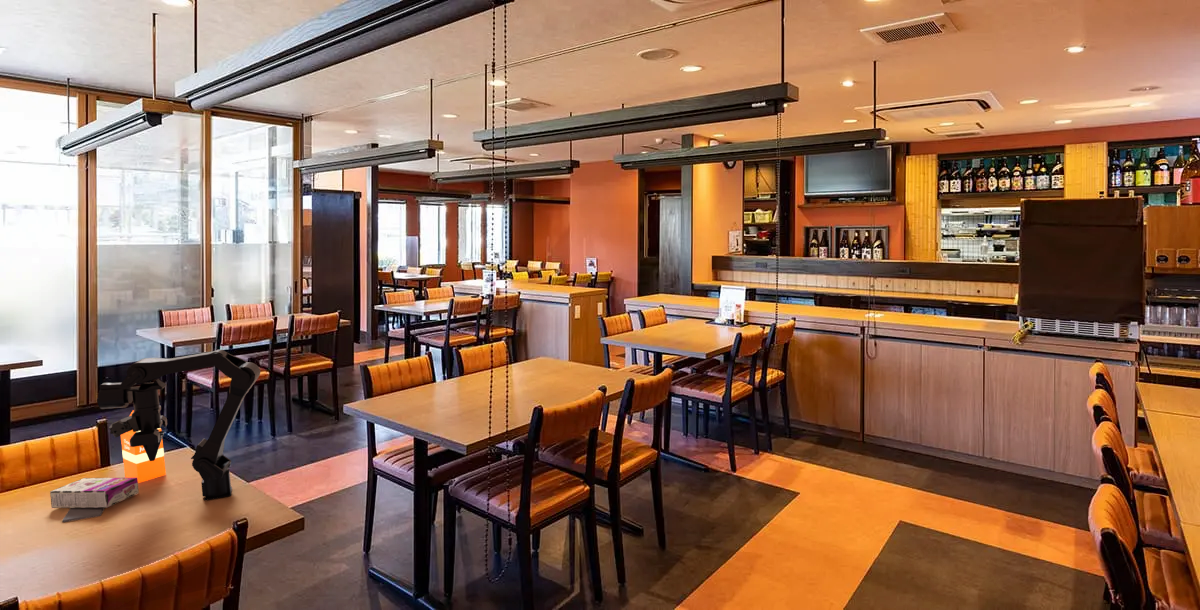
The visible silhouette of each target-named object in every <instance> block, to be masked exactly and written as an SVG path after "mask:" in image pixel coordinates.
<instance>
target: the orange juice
mask: <svg viewBox="0 0 1200 610" xmlns="http://www.w3.org/2000/svg"><path fill="white" fill-rule="evenodd" d="M133 412H134V409H132V411H131V413H130V414H129V416H131V415H132V413H133ZM158 430H159V431H162V428H161V427H160V428H158ZM138 432H141V431H138ZM134 433H135V432H133V430H131V431H129V432H126V433H124V434H122V435H120V442H121V451H122V452H121V453H122V460H123V467H124V478H136V477H137V479H138V484H140V483H144V482H147V481H150V480H154V479H156V478H159V477H163V476H166V475H167V471H166V461H165V449H164V443H163V442H164V441H163V439H162V440H161V443H160V446H159V449H158V452H157V455H156V458H155V460H154V461H150V460H149V458H148V456H147V454H146V451H145V449H144V447H143V446H136V447H130V438H131V437H132V435H133V434H134Z"/></svg>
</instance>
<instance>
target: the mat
mask: <svg viewBox="0 0 1200 610" xmlns="http://www.w3.org/2000/svg"><path fill="white" fill-rule="evenodd" d="M104 511H105V508H69V509H68V511H67V512H66V514H65V516H64V517H63V519H62V520H61V522H62V523H67V522H74V521H78V520H80V521H81V520H84V519H85V520H86V519H91V518H96V517H97V518H98V517H101V516H102V514H103V512H104Z"/></svg>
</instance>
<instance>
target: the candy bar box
mask: <svg viewBox="0 0 1200 610" xmlns="http://www.w3.org/2000/svg"><path fill="white" fill-rule="evenodd" d="M139 489H140V488H139V483H138V479H137V477H136V478H126V477H84V478H80V479H79V480H76V481H73V482H70V483H68V484H65V485H62V486H60V487H58V488H55V489H54V490H50V491H49V494H50V504H51V509H70V508H106V509H107V508H110V507H112V506H114V505H116V504H118V503H120V502H122V501H125V500H127V499H130V498H131V497H134V496H136V495H138V494H139V493H140V492H139Z"/></svg>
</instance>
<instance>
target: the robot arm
mask: <svg viewBox="0 0 1200 610" xmlns="http://www.w3.org/2000/svg"><path fill="white" fill-rule="evenodd" d="M209 367H214V368H216V369H217V370H219V372H221V373H222V374H223V375H224V376H226V377H227V378H229V379H231V380H230V383H229V393H228V395H227V398H226V400H225V402H224V404H223V406H222V408H221V411H220V413H219V416H218V418H217V420H216V422H215V424H214V426H213V428H212V430H211V432H210V435H209V436H208V439H206V438H202V440H201V441H200V442H199V443H198V444H197V445H196V448H195V452H194V454H193V455H192V457H190V459H191V460H192V461H191V466H192V468H193V470H194V471H196V472H197V473H199V476H200V477H201V492H202V493H201V495H202V497H204V498H203V500H204V501H210V500H216V499H221V498H228V497H231V496H232V491H233V487H232V484H231V483H232V482H231V473H230V469H229V468H230V467H231V463H232V459H230V458H228V457H227V456H226V455H224V454H223V452H224V449H225V443H226V442H225V440H226V438H227V435H228V433H229V431H230V429H231V427H232V425H233V423H234V420H235V418H236V416H237V414H238V413H239V412H238V411H239V410H240V408H241V405H242V404H243V400H244V399H245V397H246V395H247V394H248V393H249V391H250V390H251V389H252V387H253V386H254V385H255V383H256V381H257V380H258V379H259V377H260V375H261V369H260V367H259V365H258V364H256V363H254V362H251V361H249V362H248V361H246V360H244V359H243V358H241V357H238V356H235V355H233V354H230V353H229V352H227V351H225V350H224V349H216V350H214V351H207V352H201V353H196V354H191V355H185V356H184V355H183V356H178V357H173V358H172V357H171V358H162V357H144V358H141V359H139V360H138V361H136V362H134V363H131V364H130V366H128V368H127V370H126V376H125V378H124V379H123V381H122V382H103V383H102V384H100V385H99V391H98V394H97V398H96V403H97V406H98V408H99V409H101V410H105V409H119V408H128V407H129V405H130V404H133V410H134V412H133V413H132V415H131V416H130V415H129V416H126V417H123V418H121V419H119V420H117V421H115V422H112V423H111V424H110V425H109V427H108V429H109V433H110V435H113V436H114V438H119V437H121V435H122V434H124V433H126V432H129V431H131V430H133V432H135V433H134V434H133V435H132V437H131V438H130V447H136V446H143V447H144V449H145V451H146V454H147V456H148V458H149V460H150V461H154V460H155V458H156V455H157V452H158V449H159V446H160V443H161V440H162V441H163V437H164V434H165V431H164V430H161V431H159V430H158V428H161V427H162V426H163V428H165V427H167V425H168V419H167V417H166V416H165V415H161V410H162V406H161V405H160V399H159V390H163V389H164V388H165V387H167V383H165V382H164V381H162V380H160V378H161V377H163V376H166V375H171V374H176V373H177V374H178V373H181V372H188V371H193V370H198V369H200V370H201V369H204V368H209ZM150 381H153V382H150ZM138 384H140V385H139V386H135V385H138ZM138 431H141V432H138Z"/></svg>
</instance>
